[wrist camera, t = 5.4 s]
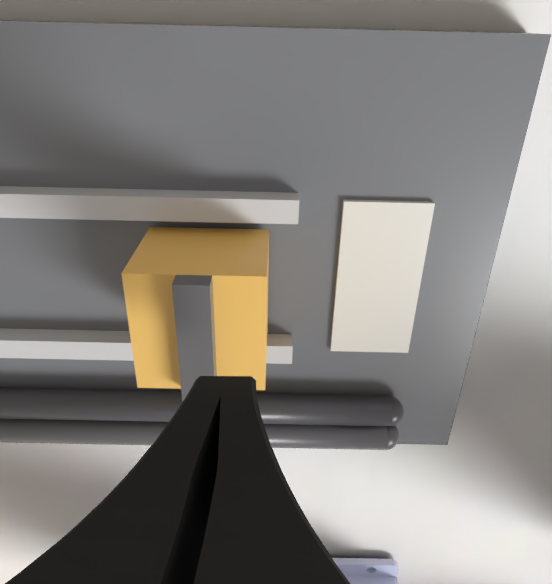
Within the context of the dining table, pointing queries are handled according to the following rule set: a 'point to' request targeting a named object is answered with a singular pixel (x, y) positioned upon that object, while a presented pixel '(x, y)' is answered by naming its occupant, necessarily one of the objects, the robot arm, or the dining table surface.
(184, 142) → the grey base plate
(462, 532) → the dining table surface
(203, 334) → the switch
